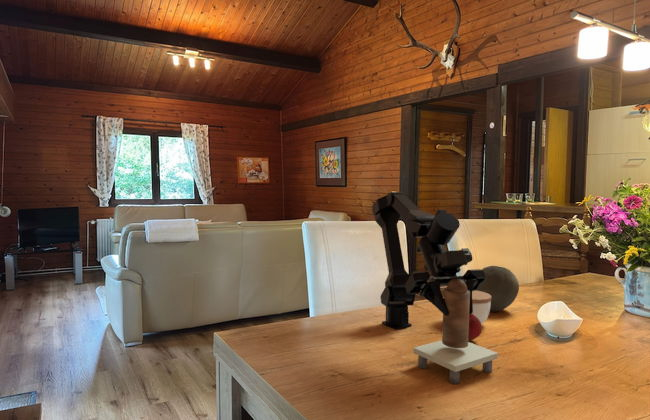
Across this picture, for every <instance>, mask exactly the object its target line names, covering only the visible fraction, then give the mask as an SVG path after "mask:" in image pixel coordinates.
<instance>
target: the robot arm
mask: <svg viewBox="0 0 650 420" xmlns="http://www.w3.org/2000/svg"><path fill="white" fill-rule="evenodd" d="M371 207H372V208H371V211H372V212H371V213H372V214H373V216H374V220H375V223H376V224H378V226H379V227H380V228H381V233H382V238H383V244H384V251H385V256H386V257H385V258H386V263H387V270H388V274H387V276H386V279H385V282H384V285H385V286H384V289H383V290H382V293H381V294H380V303H381V305H383V306H384V307H385V320H383V321H381V324H382V325H385V326H387V327H389V328H391V329H395V330H399V329H403V328H408V327H411V326H413V324H412V323H409V322H410V321H409V315H410V312H409V306H414V305H415V298H416V295H419V296H420V297H423V298H425V299H426V300H427V301H428V302H429V303H431V304H432V305H433V306H434V307H435V308H436V309H438V311H440V313H442V315H443V314H444V315H445V316H448V315H449V312H448V308H447V305H446V303H445V301H444V295H443V293H442V291H441V286H447V284H448V283H449V282H450V281H451V280H453V279H460V280H462V281H464V282H465V284H466V285H467V290H468V291H470V308H469V314H472V313H473V304H472V291H476V290H478V289H479V288H480V286H481V285H482V284H483V283H484V282H485V281H486V279H487V276H486V274H485V272H484V271H483V270H482V269H480V268H479V269H467V270H466V271H465V273H464V274H463V275H457V274H458V273H459V272H461V270H462V269H461V267H463V266H467V265H468V263H471V262H472V261H473V255H472V252H471V251H470V249H469V248H467V247H466V248H465V247H464V248H461V249H459V250H458V249H456V250H446V248H445V246H446V245H448V244H449V243H450V241H451V240H452V238H453V237H454V235H455V234H456V233H457V231H458V230H459V227H460V220H459V219H458V218H457V217H456V216H455V215H453V214H451V213H449V212H447V210H446V209H437V211H436V212H435V215H434V214H433V213H430V212H428V211H424V210H421V209H420V208H419V207H418V206H417V205H416V204H415V203H414V202H413V201H412V200H410V198H408V196H407V194H406V193H405V192H403V191H391V192H388V193H387V194H386V195H384V196H381V197H380V198H379V197H378V198H377V199H376V201H374V203H373V204H372V205H371ZM401 218H403V220H404V221H405V222H406V225H405V229H406V231H407V232H408V234H409V236H410V237H411V238H420V239H419V241H418V243H417V244H418V245H417V247H416V253H421V255H422V258H423V260H424V263H425V264H424V266H423V268H424V271H412V272H411V273H408V271H407V270H406V269H405V263H404V258H403V252H402V247H401V240H400V233H399V229H398V224H399V221H400V219H401Z"/></svg>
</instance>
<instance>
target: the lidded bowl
mask: <svg viewBox="0 0 650 420" xmlns="http://www.w3.org/2000/svg"><path fill="white" fill-rule="evenodd" d="M472 304H473V313H472V314H473V315H475V316H476V317H477V318H478V319H479V321H480V322H481V325H482V324H484V323H485V322H486V321H487V319H488V317H489V315H490V312H491V311H490V307H491V295H490V294H488V293H485V292H481V291H472Z"/></svg>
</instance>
